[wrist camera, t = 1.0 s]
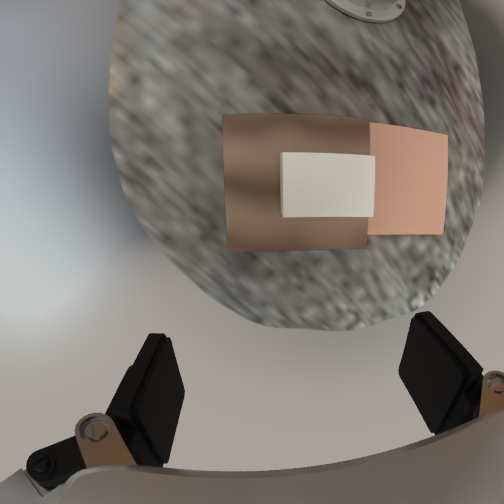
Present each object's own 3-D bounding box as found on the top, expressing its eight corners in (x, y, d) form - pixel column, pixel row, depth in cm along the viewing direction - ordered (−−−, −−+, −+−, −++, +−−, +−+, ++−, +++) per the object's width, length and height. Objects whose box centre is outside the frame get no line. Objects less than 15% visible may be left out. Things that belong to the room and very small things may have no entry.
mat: (365, 122, 28) (366, 121, 27) (445, 135, 28) (447, 135, 27) (362, 233, 32) (364, 234, 31) (441, 233, 32) (442, 234, 31)
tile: (279, 152, 27) (282, 152, 24) (365, 155, 27) (375, 155, 24) (280, 212, 29) (283, 217, 26) (364, 212, 29) (373, 217, 26)
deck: (224, 118, 28) (222, 115, 26) (360, 121, 28) (369, 119, 25) (229, 245, 32) (227, 252, 30) (358, 242, 32) (366, 248, 30)
